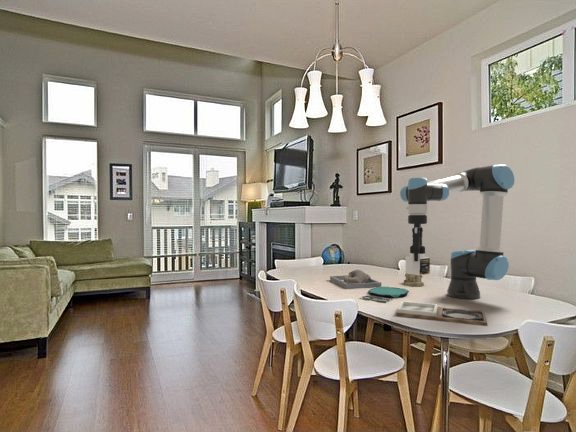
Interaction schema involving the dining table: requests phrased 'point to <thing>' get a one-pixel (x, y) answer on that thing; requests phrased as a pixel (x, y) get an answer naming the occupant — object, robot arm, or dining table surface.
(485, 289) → the dining table surface
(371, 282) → the grey rectangular tray
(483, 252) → the robot arm
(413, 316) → the board
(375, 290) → the cutlery set
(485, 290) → the dining table surface
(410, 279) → the ceramic model
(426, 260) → the medicine bottle
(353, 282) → the grey rounded lump
